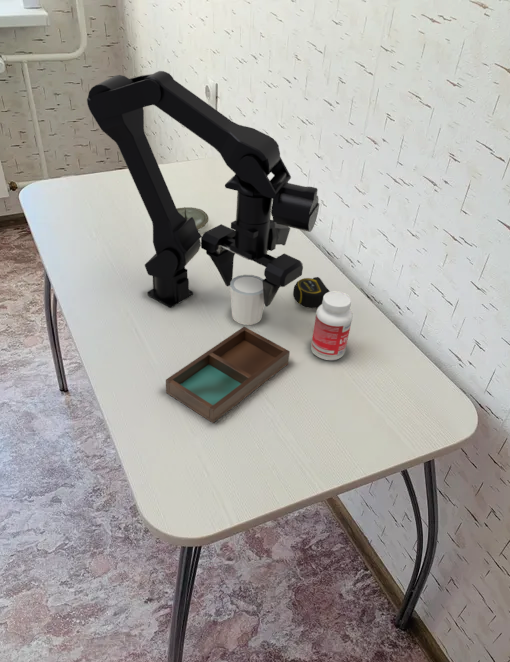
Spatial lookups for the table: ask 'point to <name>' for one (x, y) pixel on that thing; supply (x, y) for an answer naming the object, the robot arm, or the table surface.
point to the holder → (227, 373)
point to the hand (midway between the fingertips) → (247, 295)
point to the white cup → (247, 299)
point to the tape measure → (310, 292)
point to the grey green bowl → (194, 215)
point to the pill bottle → (332, 326)
